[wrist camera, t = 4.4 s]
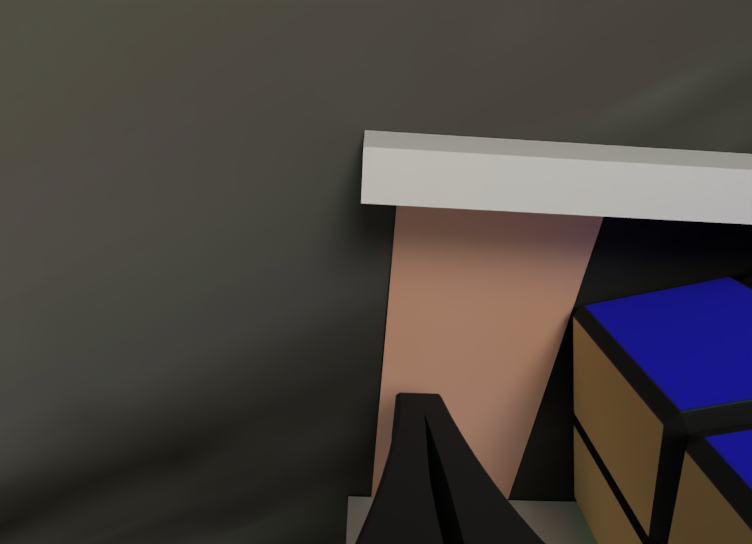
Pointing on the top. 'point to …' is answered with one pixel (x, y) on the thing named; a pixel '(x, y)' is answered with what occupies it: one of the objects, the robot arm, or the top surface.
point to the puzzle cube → (665, 415)
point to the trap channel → (510, 275)
